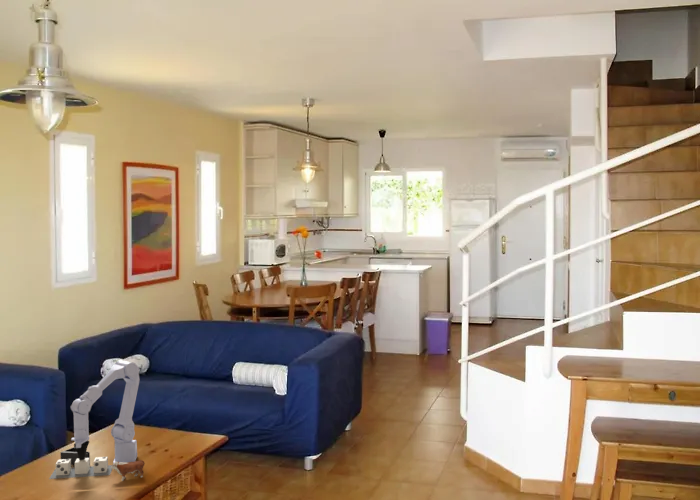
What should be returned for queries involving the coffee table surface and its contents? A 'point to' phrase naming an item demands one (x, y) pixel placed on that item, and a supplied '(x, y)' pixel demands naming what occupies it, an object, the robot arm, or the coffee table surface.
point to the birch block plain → (82, 466)
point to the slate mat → (72, 474)
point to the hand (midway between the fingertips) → (82, 459)
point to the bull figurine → (129, 468)
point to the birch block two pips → (100, 464)
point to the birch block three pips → (63, 467)
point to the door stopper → (72, 455)
